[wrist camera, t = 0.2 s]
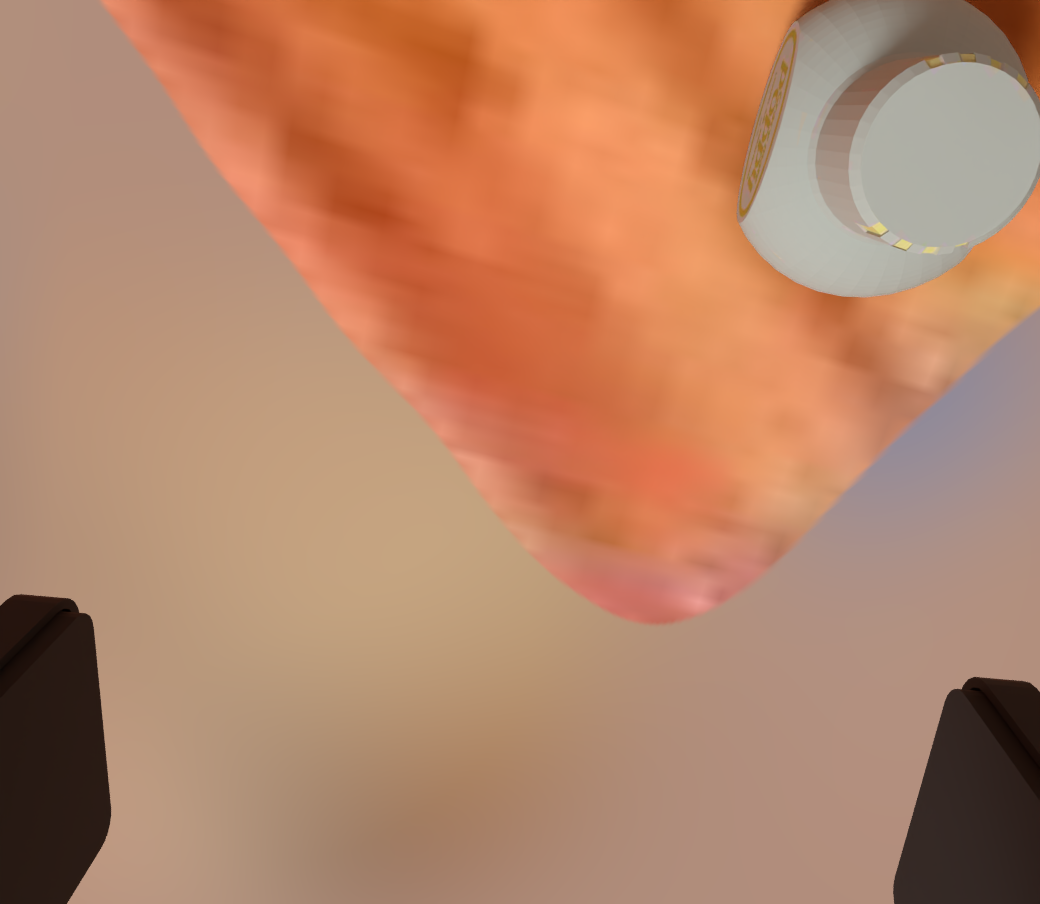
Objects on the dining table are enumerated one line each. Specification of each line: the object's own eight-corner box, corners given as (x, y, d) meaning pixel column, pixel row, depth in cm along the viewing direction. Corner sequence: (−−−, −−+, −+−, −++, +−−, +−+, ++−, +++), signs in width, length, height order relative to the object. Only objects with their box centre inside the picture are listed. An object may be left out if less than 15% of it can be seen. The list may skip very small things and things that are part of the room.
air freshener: (791, -25, 35) (878, -76, 25) (1000, 22, 35) (1162, -12, 26) (712, 259, 38) (763, 306, 29) (902, 299, 39) (1012, 359, 29)
